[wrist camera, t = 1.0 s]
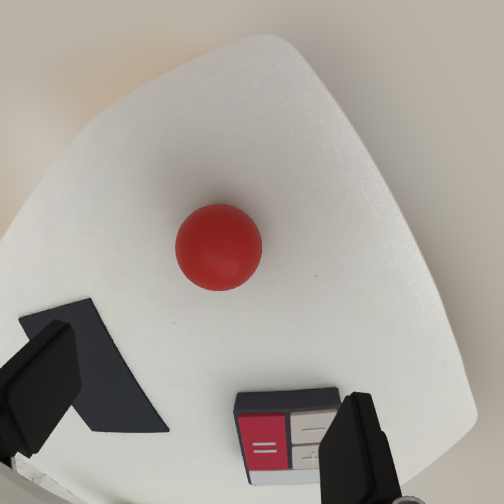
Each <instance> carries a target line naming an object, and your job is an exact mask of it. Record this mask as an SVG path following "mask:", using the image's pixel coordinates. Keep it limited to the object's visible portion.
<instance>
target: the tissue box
mask: <svg viewBox="0 0 504 504" xmlns="http://www.w3.org/2000/svg"><path fill="white" fill-rule="evenodd" d="M32 482H34V483H35V484H37V485H39V486H40V487H42V488H44V489H46V490H48V491H49V492H51V493H53V494H55V495H57V496H59V497H61V498H63V499H65V500H67V501H69V502H71V503H73V504H87V503H86V502H84V501H82V500H81V499H79V498H78V497H76V496H75V495H73V494H72V493H70V492H69V491H68V490H66V489H65V488H63V487H62V486H60V485H59V484H58V483H56V482H55V481H54V480H52V479H51V478H50V477H48V476H47V475H46V474H45V475H43V476H40V477H37V478H35V479H33V480H32Z"/></svg>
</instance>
